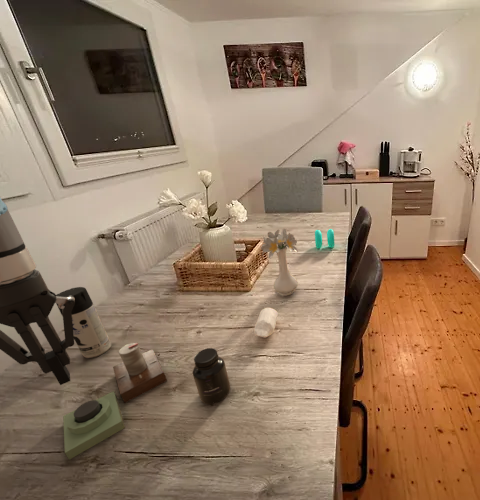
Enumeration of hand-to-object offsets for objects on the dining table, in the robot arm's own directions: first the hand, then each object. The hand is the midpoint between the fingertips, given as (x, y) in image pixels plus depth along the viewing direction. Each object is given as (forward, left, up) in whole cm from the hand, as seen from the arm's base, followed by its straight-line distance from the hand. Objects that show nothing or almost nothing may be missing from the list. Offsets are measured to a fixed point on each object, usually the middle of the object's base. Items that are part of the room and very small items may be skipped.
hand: (65, 379), depth 57 cm
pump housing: (+1, +1, -14) cm, 14 cm away
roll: (+1, +43, -14) cm, 45 cm away
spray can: (-29, +4, -14) cm, 32 cm away
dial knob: (-7, +11, -10) cm, 16 cm away
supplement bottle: (+12, +23, -14) cm, 29 cm away
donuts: (-39, +101, -14) cm, 109 cm away
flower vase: (-16, +61, -14) cm, 64 cm away
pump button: (+1, +1, -10) cm, 10 cm away
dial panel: (-7, +11, -14) cm, 18 cm away
